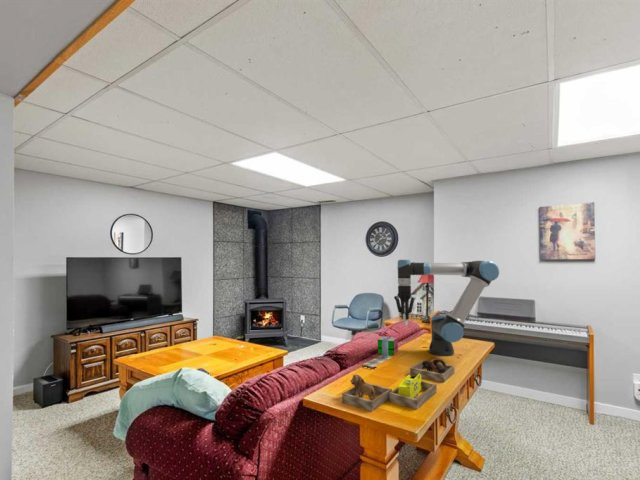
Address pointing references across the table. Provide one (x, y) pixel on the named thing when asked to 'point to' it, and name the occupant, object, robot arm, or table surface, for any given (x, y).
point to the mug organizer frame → (432, 375)
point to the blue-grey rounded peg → (385, 348)
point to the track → (375, 362)
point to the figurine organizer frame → (351, 399)
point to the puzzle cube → (389, 345)
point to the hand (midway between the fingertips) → (405, 324)
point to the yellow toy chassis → (410, 386)
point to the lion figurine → (362, 387)
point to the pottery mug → (434, 366)
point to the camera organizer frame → (411, 402)
